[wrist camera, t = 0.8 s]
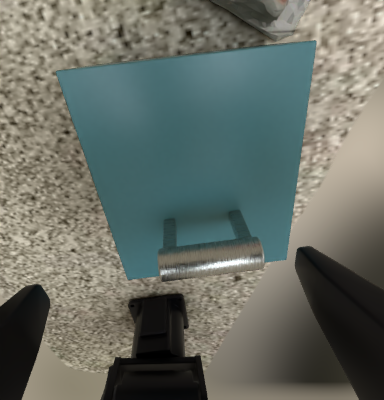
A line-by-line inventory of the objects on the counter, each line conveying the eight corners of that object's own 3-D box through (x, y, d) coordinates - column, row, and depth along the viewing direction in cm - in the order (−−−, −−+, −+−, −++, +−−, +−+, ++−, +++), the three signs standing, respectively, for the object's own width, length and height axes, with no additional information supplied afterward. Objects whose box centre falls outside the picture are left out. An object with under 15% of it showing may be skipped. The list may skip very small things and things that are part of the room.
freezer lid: (282, 253, 18) (316, 313, 14) (128, 272, 18) (116, 339, 14) (309, 40, 11) (392, 33, 7) (60, 69, 11) (-7, 80, 7)
